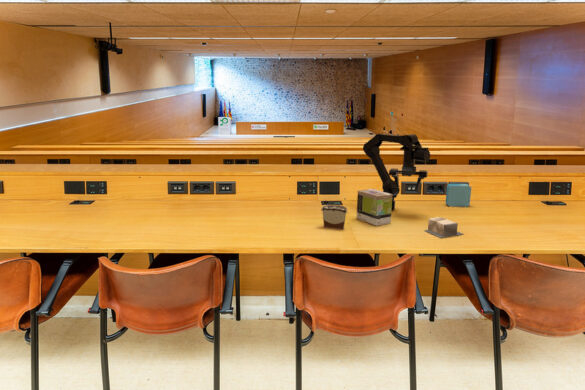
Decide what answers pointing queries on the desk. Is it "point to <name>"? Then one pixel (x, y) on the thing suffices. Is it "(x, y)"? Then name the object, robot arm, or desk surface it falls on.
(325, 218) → the food container
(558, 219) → the desk surface
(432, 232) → the mat
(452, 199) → the teal square slab
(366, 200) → the tea box
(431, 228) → the cream block
